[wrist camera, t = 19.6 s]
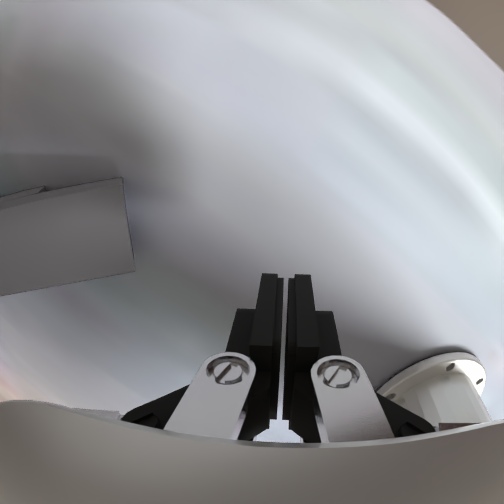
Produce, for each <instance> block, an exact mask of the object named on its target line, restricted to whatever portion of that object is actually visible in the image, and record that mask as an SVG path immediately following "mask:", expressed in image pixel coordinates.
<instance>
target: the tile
mask: <svg viewBox="0 0 504 504" xmlns="http://www.w3.org/2000/svg"><path fill="white" fill-rule="evenodd" d="M129 272H135V265H134V257H133V250H132V244H131V238H130V232H129V225H128V219H127V212H126V204H125V197H124V189H123V180H122V177H120V178H114V179H108V180H102V181H96V182H91V183H86V184H80V185H75V186H70V187H65V188H61V189H56V190H51V191H47V192H42V193H38V194H33V195H29V196H25V197H21V198H17V199H13V200H9V201H5V202H1V203H0V296H5V295H10V294H15V293H21V292H26V291H32V290H37V289H42V288H48V287H53V286H59V285H64V284H70V283H75V282H80V281H86V280H91V279H97V278H102V277H108V276H113V275H119V274H124V273H129Z"/></svg>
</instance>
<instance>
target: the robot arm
mask: <svg viewBox="0 0 504 504" xmlns="http://www.w3.org/2000/svg"><path fill="white" fill-rule="evenodd" d="M283 281H284V278H278V274H267V273H262V276H261V282H260V288H259V293H258V299H257V305H256V309H240V308H238V309H237V311H236V315H235V319H234V322H233V326H232V330H231V333H230V337H229V341H228V344H227V348H226V351H225V352H224V353H218V354H216V355H213V356H211V357H209V358H208V359H206V360H205V361H204V362H203V364H202V365H201V367H200V368H199V370H198V372H197V373H196V375H195V377H194V379H193V380H192V382H191V384H189V385H187V386H185V387H183V388H181V389H179V390H176V391H174V392H172V393H170V394H167V395H165V396H163V397H161V398H158V399H156V400H154V401H151V402H149V403H147V404H144V405H142V406H139V407H137V408H135V409H133V410H131V411H129V412H127V413H126V414H125V415H120V413H119V411H106V410H91V409H79V408H70V407H66V406H63V405H58V404H53V403H49V402H42V401H34V400H9V401H3V402H0V504H504V419H501V420H494V421H492V419H491V417H490V415H489V413H488V411H487V409H486V407H485V405H484V403H483V401H482V399H481V397H480V395H481V393H482V391H483V388H484V385H485V382H486V373H485V369H484V367H483V366H482V364H481V362H480V361H479V360H478V359H477V358H476V357H475V356H473V355H471V354H468V353H462V352H453V353H445V354H441V355H437V356H433V357H431V358H428V359H425V360H423V361H420V362H418V363H416V364H414V365H412V366H410V367H408V368H407V369H405V370H404V371H402V372H400V373H399V374H397V375H396V376H394V377H393V378H392V379H390V380H389V381H388V382H386V383H385V384H384V385H383V386H382V387H381V388H380V389H379V390H378V391H377V392H375V391H374V389H373V387H372V385H371V383H370V381H369V379H368V376H367V374H366V372H365V370H364V369H363V367H362V366H361V364H359V363H358V362H357V361H355V360H353V359H351V358H349V357H344V356H342V355H341V350H340V345H339V340H338V335H337V330H336V325H335V320H334V315H333V312H332V311H315V305H314V297H313V289H312V282H311V275H303V274H295V278H289V280H288V303H287V323H286V342H285V369H284V393H283V415H282V420H289V430H292V431H294V432H295V433H296V434H297V435H299V436H300V443H279V442H259V441H256V435H258V434H259V433H261V432H263V431H264V430H266V429H269V422H270V419H277V405H278V389H279V372H280V353H281V332H282V309H283Z"/></svg>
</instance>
